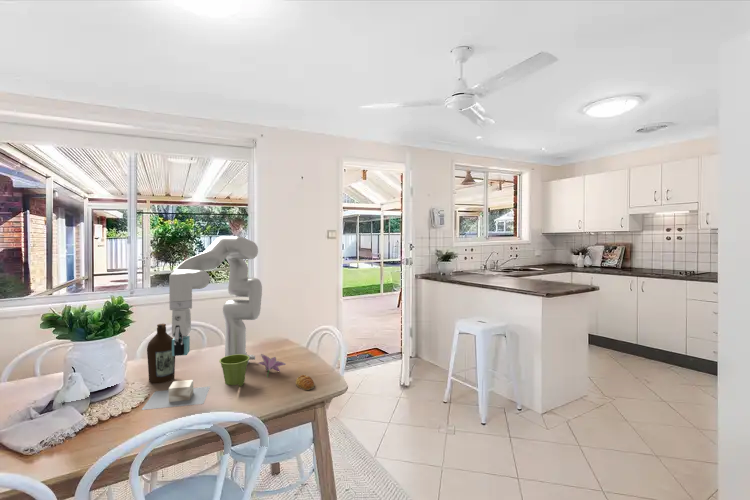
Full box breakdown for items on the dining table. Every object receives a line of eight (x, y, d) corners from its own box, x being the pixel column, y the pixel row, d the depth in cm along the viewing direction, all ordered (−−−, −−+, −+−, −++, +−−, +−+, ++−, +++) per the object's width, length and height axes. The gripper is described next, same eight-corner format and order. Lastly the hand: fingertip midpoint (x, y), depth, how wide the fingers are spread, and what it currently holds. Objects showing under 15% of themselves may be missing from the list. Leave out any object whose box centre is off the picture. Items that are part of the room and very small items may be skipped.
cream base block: (193, 392, 144) (193, 379, 144) (189, 400, 138) (189, 386, 138) (173, 394, 143) (173, 381, 142) (168, 402, 136) (168, 388, 136)
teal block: (189, 351, 143) (189, 335, 142) (186, 355, 138) (186, 339, 138) (175, 352, 141) (175, 336, 141) (171, 356, 136) (171, 340, 136)
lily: (288, 378, 167) (289, 356, 171) (268, 375, 158) (270, 352, 163) (269, 380, 173) (272, 359, 177) (249, 378, 164) (252, 356, 169)
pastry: (318, 388, 154) (318, 379, 154) (303, 392, 150) (303, 383, 150) (308, 381, 161) (308, 372, 161) (293, 385, 157) (293, 376, 157)
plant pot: (219, 381, 159) (219, 356, 158) (248, 378, 163) (248, 353, 163) (219, 392, 148) (219, 365, 148) (250, 388, 153) (250, 361, 152)
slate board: (210, 390, 150) (210, 386, 150) (203, 407, 135) (203, 403, 135) (155, 395, 145) (155, 391, 145) (141, 414, 130) (141, 409, 130)
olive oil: (143, 382, 157) (143, 324, 156) (170, 375, 165) (170, 320, 164) (152, 389, 150) (152, 328, 149) (180, 382, 158) (179, 324, 157)
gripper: (186, 308, 132) (187, 359, 132) (196, 300, 148) (196, 345, 149) (163, 309, 130) (163, 360, 130) (175, 301, 146) (175, 346, 147)
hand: (181, 352), depth 140 cm, fingers closed on teal block, 5 cm apart
